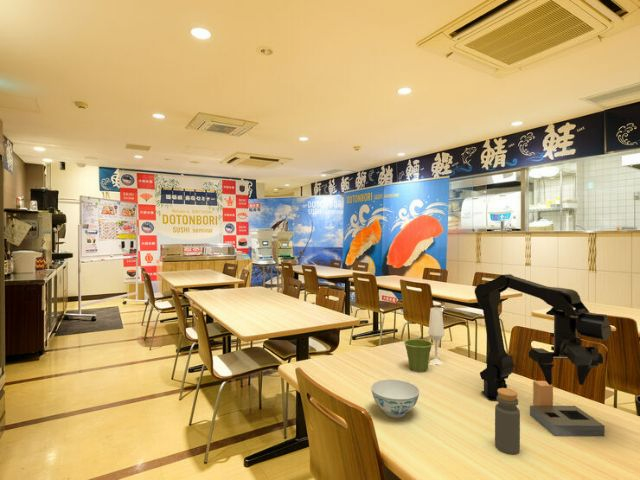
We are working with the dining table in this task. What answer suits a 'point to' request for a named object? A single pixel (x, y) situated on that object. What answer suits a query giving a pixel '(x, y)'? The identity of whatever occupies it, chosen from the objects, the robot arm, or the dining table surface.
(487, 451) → the dining table surface
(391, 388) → the chinaware
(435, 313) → the champagne flute
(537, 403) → the peg
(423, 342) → the plant pot
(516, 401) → the bottle
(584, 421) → the socket plate
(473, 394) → the dining table surface
